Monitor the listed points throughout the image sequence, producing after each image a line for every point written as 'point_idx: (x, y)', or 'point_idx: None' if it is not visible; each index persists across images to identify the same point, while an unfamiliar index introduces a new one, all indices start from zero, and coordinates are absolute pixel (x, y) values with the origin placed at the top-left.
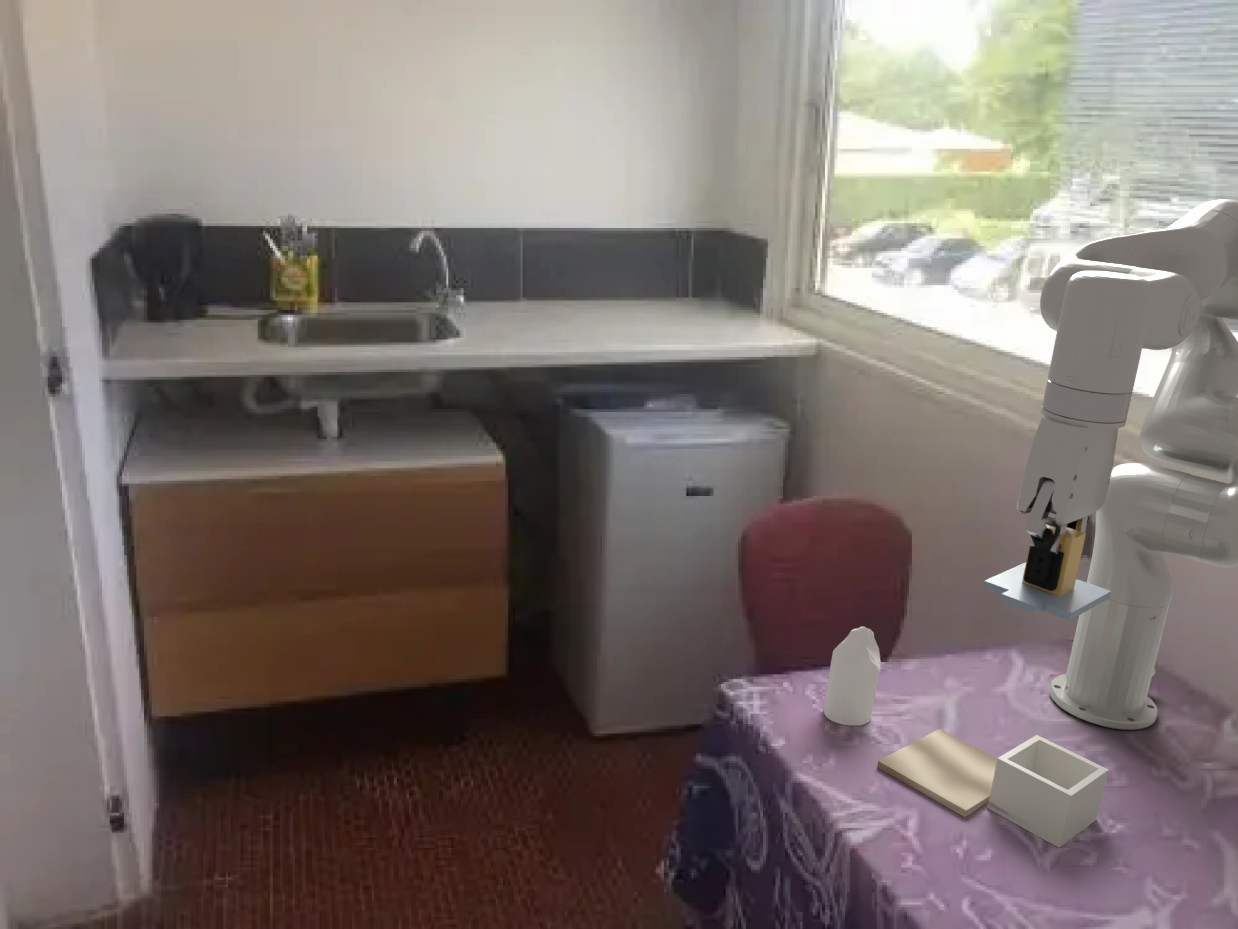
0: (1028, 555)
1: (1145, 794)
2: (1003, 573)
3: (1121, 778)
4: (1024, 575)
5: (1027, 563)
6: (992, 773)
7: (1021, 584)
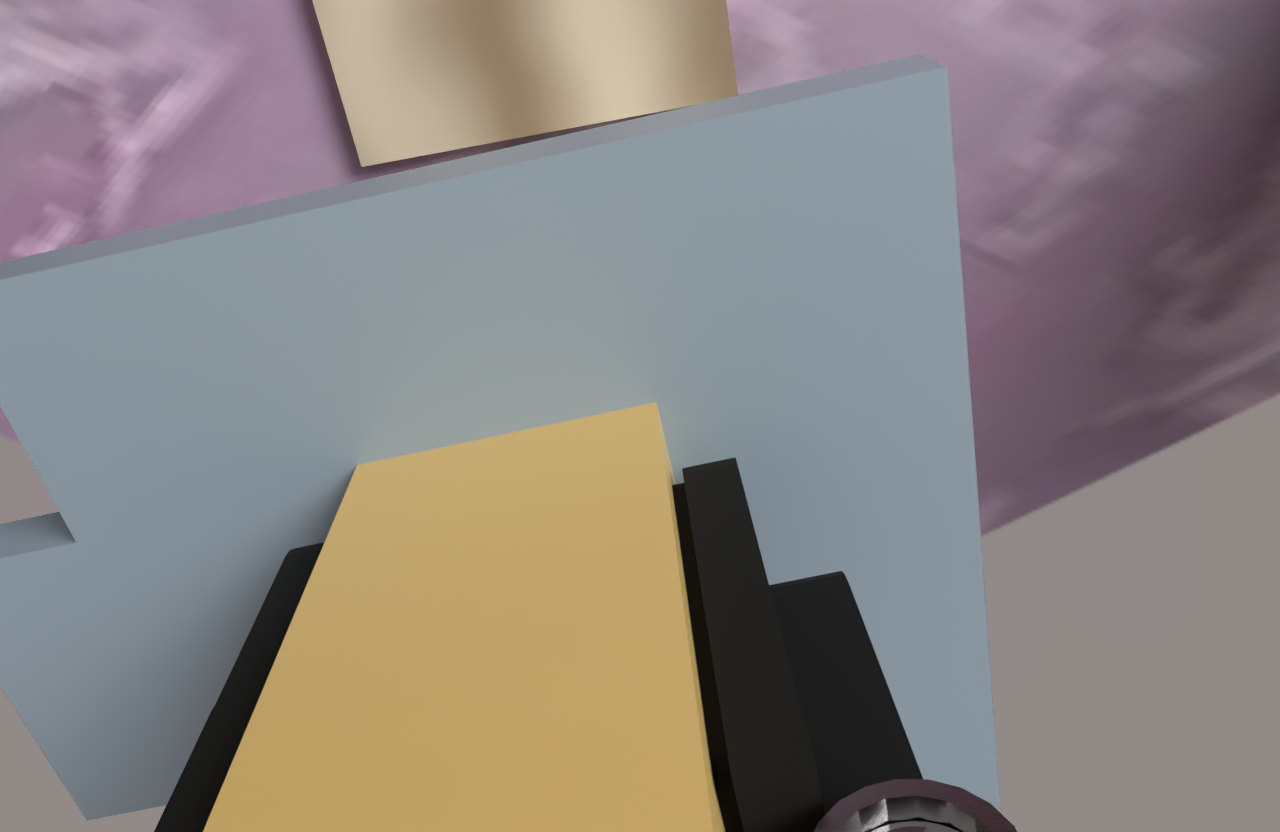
0: (199, 743)
1: (1016, 317)
2: (334, 224)
3: (1041, 230)
4: (278, 572)
5: (238, 672)
6: (620, 45)
7: (312, 494)
